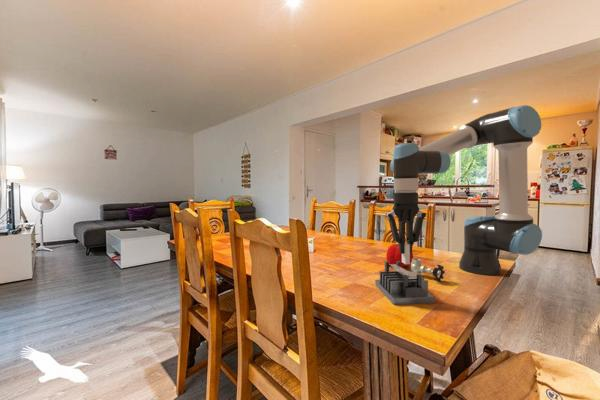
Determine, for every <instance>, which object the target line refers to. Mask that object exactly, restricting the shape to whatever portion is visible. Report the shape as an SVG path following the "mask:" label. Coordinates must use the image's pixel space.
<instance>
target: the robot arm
mask: <svg viewBox="0 0 600 400" xmlns="http://www.w3.org/2000/svg"><path fill="white" fill-rule="evenodd" d="M541 130H542V119H541V116H540V113H538V111H537V110H536V109H535V108H534V107H533V106H531V105H527V104H523V105H518V106H511V107H509V108H506V109H501V110H498V111H494V112H492V113H491V112H490V113H486V114H484V115H481V116H479V117H478V118H475V119H473V120H472V121H469V122H467V123H466V124H464V125H461V126H459V127H458V128H457V129H456V131H454V132H452V133H449V134H447V135H444V136H443V137H441V138H438V139H436V140H434V141H431V142H430V143H427V144H425V145H423V146H421V147H419V145H418V143H414V142H405V143H399V144H396V145H395V146H394V147H393V148H394V149H393V157H392V160H391V161H390V165H389V166H390V171H391V172H392V173H393V191H395V192H394V193H393V207H392V210H391V211H389V212H387V213H385V217H386V219H387V220H388V223H389V226H390V227H389V228H390V232H391V236H392V240H393V241H394V242H396V243H397V244H399V252H400V253H401V254H402V263H404V264H411V263H410V253H413V245H414V244H415V243H418V242H419V239H420V235H421V232H422V226H423V223H424V220H425V218H426V216H427V213H426V212H423V211H421V210H420V207H419V193H418V191H419V175H425V174H426V175H427V174H435V175H436V174H437V175H438V174H443V173H446V172H448V170H449V169H450V167H451V155H452V154H453V155H454V154H455V153H456V152H459V151H461V150H463V149H472V148H474V147H477V146H480V145H487V144H493V146H492V147H493V148H495V149H496V150H497V151H498V153H497V154H498V201H499V202H498V209H499V213H497V214H496V215H487V216H485V215H484V216H468V217H466V218H465V220H464V226H463V227H464V229H463V230H464V234H463V238H464V239H463V242H464V244H463V245H464V247H463V248H464V249H463V252H462V255H461V257H460V260H459V264H458V265H459V267H458V268H459V269H460V270H462V271H464V272H469V273H472V274H478V275H490V276H492V275H493V276H494V275H500V274H502V265H501V264H500V260H499V259H500V258H499V257H498V255H497V254H498V253H497V250H499V251H503V252H508V253H511V254H514V255H516V254H517V255H522V256H524V255H525V256H526V255H527V256H528V255H531V254H532V253H534V252H535V251H536V250H537V248H538V247H539V246H540V245H541V242H542V239H543V231H542V229H541V227H540V226H539V225H537V224H536V223H534V217H533V216H532V215H530V214H529V213H528V212H529V199H528V197H529V196H528V195H529V192H528V191H529V190H528V185H529V184H528V180H529V179H528V177H529V176H528V148H529V147H530V145H532V144H533V139H534V138H535V137H536V136H537V135H539V133H540V131H541ZM395 217H396V218H397V221H396V219H395ZM415 217H416V218H415ZM414 220H415V221H414ZM397 222H398V226H397Z"/></svg>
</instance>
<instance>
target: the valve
mask: <svg viewBox="0 0 600 400" xmlns="http://www.w3.org/2000/svg"><path fill="white" fill-rule="evenodd" d="M410 271H414V272H417V274H420V275H421V276H422V274H426V273H427V274H432V276H433V277H434V278H433V281H435V282H438V283H441V281H442V280H444V275H445V274H446V272H445V270H444V266H443V265H442V264H437V266H436V267H434V268H433V269H432V268H429V267H427V265H422V259H420V258H414V257H413V259H412V262H411V265H410Z"/></svg>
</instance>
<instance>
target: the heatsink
mask: <svg viewBox="0 0 600 400" xmlns="http://www.w3.org/2000/svg"><path fill="white" fill-rule="evenodd" d="M389 265H390V264H389V262H388V261H387V260H386V261H384V271H379V279H375V281H374V282H375V286H376V288H377V289H378V290H379V291H380V292H381V293H382V294H383V295H384V296H385V297H386V298H387V300H389V302H391V304H392V305H395V306H396V305H420V304H421V305H423V304H435V302H436V298H435V297H436V296H434V295H433V294H432V293H430V291H429V280H428V279H425V278H424V277H423V275H422V274H421V275H420V274H417V279H408V276H407V275H402V274H400V273H399V272H397V271H396V270H392V271H391V270H390V267H389ZM396 265H398V266H400V267H401V262H400V261H396ZM407 271H408V272H414V271H412V270H407Z"/></svg>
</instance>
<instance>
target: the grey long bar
mask: <svg viewBox="0 0 600 400" xmlns="http://www.w3.org/2000/svg"><path fill="white" fill-rule="evenodd" d="M389 268H391V269H392V270H393V271H397V272H399V273H400V274H402V275H407V276H408V279H417V272H408V271H409V270H406V269H405V268H404V267H403V268H401V267H400V266H398V265H396V264H393V265H390V264H389Z"/></svg>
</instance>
